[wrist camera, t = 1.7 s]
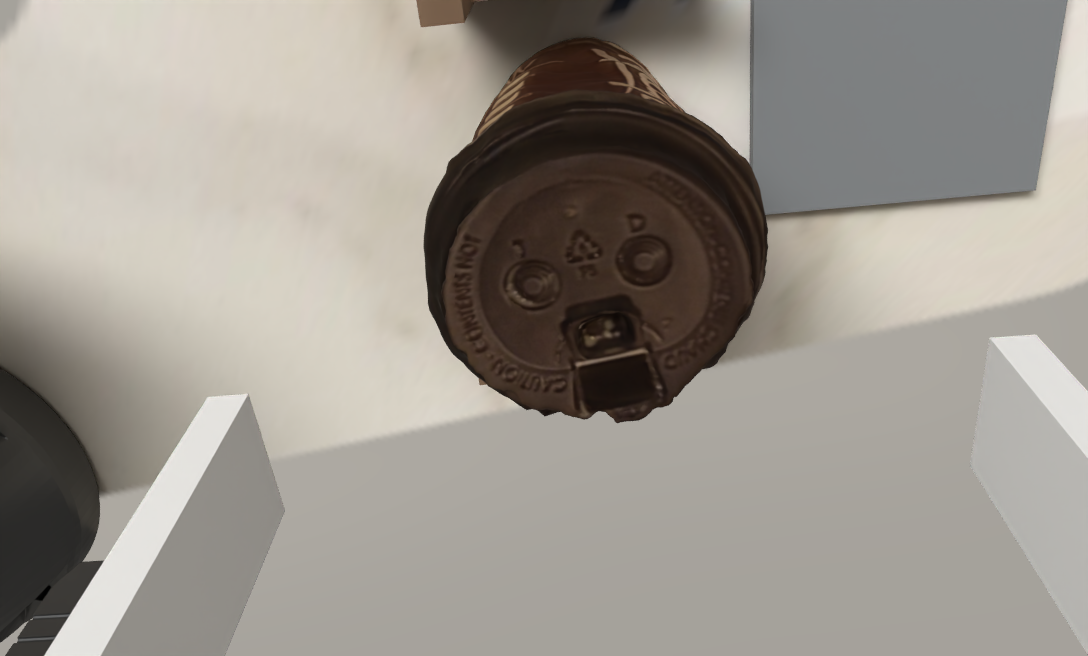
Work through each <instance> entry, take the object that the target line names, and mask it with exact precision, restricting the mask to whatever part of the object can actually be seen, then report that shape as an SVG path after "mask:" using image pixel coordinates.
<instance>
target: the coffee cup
mask: <svg viewBox="0 0 1088 656" xmlns="http://www.w3.org/2000/svg"><path fill="white" fill-rule="evenodd" d="M767 234H768V228H767V222H766V216H765V211H764V207H763V202H762V197H761V192H760V188H759V185H758V182H757V180H756V177H755V175H754V172H753V170H752V168H751V166H750V164H749V163H748V161H747V160H746V159H745V158H744V157H742V156H741V155H739V154H738V152H737V151H736V150H735V149H733V148H732V147H731V146H730V145H729V144H728V143H727V142H726V141H725V139H724V138H723V137H722V136H721V135H720V134H718V133H717V132H716V131H714V130H713V129H712V128H711V127H709V126H708V125H706V124H705V123H703V122H702V121H700V120H698V119H697V118H695V117H694V116H692V115H689V114H687V113H685V112H684V110H683V109H681V108H680V107H679V106H678V105H677V104H676V103H675V102H673V101H672V100H671V99H670V98H669V97H668V95H667V93H666V92H665V90H664V89H663V88H662V87H661V86H660V84H659V83H658V81H657V80H656V79H655V78H654V77H653V76H652V75H651V73H650V72H649V70H648V69H647V67H646V66H644V65H643V64H642V63H641V62H640V61H639V60H638V59H636V58H635V57H634V56H633V55H632V54H630V53H628V52H627V51H625V50H624V49H622V48H621V47H620V46H618V45H616V44H614V43H611V42H608V41H601V40H599V39H597V38H594V37H593V38H576V39H570V40H566V41H563V42H560V43H557V44H554V45H552V46H549V47H547V48H545V49H543V50H541V51H539V52H537V53H536V54H534V55H533V56H532V57H530V58H529V59H528V60H526V61H525V62H524V63H523V64H522V65H520V66H519V67H518V68H517V69H516V71H515V72H514V73H513V74H512V75H511V77H510V78H509V80H508V82H507V83H506V84H505V85H504V87H503V88H502V90H501V91H500V93H499V94H498V95H497V96H496V98H495V99H494V100H493V102H492V103H491V105H490V107H489V108H488V110H487V111H486V113H485V115H484V117H483V119H482V121H481V122H480V124H479V126H478V128H477V130H476V132H475V135H474V138H473V141H472V142H471V143H469V144H468V145H467V146H466V147H465V148H464V149H463V150H462V151H461V152H460V153H459V154H458V155H456V156H455V157H454V158H452V159H451V160H450V161H449V163H448V166H447V171H446V174H445V175H444V177H443V179H442V181H441V182H440V184H439V186H438V187H437V189H436V191H435V194H434V196H433V198H432V200H431V203H430V205H429V208H428V211H427V216H426V224H425V233H424V253H425V269H426V281H427V289H428V306H429V310H430V312H431V314H432V316H433V318H434V319H435V321H436V323H437V326H438V328H439V330H440V333H441V335H442V337H443V339H444V341H445V343H446V345H447V346H448V348H449V349H450V351H451V352H452V353H453V355H455V356H456V357H457V358H458V359H459V360H460V361H462V362H463V363H464V364H465V366H466V367H467V368H468V369H469V370H470V371H471V372H472V373H473V374H475V375H476V376H477V377H478V378H480V379H481V380H482V381H484V382H485V383H486V384H487V385H488V386H489V387H491V388H493V389H494V390H496V391H497V392H499V393H500V394H502V395H503V396H506V397H508V398H510V399H511V400H513V401H514V402H515V403H517V404H518V405H520V406H521V407H523V408H524V409H526V410H529V409H535V410H538V411H539V412H540V413H541V414H543V415H544V416H548V415H550V414H553V413H556V412H562V413H563V414H565V415H569V416H572V417H577V418H581V419H588V418H590V417H591V416H592V415H593V414H594V413H596V412H598V411H602V412H606V413H607V414H608V415H609V416H610V417H612V418H613V419H614V420H615V422H616V423H620V422H624V421H636V420H640V419H642V418H644V417H646V416H647V415H648V414H649V413H650V412H651V411H652V410H653V409H655V408H657V407H664V406H667V405H669V404H671V403H672V402H673V398H674V397H677V396H678V394H679V393H680V392H681V391H682V389H683V388H684V387H685V386H686V385H687V384H688V383H689V382H691V380H692V379H693V378H694V377H695V376H696V375H697V374H698V373H699V372H700V371H701V370H702V369H706V368H710V367H712V366H714V365H715V364H717V362H718V360H719V358H720V357H721V356H722V355H723V354H724V353H725V352H726V348H727V346H728V343H729V342H730V341H731V340H732V339H733V338H734V337H735V334H736V332H737V331H738V329H739V328H740V326H741V325H742V323H743V322H744V321H745V320H747V319H748V317H749V316H750V313H751V310H752V307H753V305H754V301H755V298H756V296H757V294H758V292H759V290H760V288H761V286H762V283H763V280H764V277H765V266H766V262H767V259H766V257H767V250H768V244H767Z"/></svg>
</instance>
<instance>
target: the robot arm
mask: <svg viewBox="0 0 1088 656" xmlns="http://www.w3.org/2000/svg"><path fill="white" fill-rule="evenodd" d="M970 466H971V468H972V470H973V471H974V473H975V475H976V476H977V478H978V479H979V481H980V483H981V484H982V486H983V487H984V489H985V491H986V492H987V494H988V496H989V497H990V499H991V500H992V502H993V504H994V505H995V507H996V508H997V510H998V512H999V513H1000V515H1001V516H1002V518H1003V520H1004V521H1005V523H1006V524H1007V526H1008V528H1009V529H1010V531H1011V532H1012V534H1013V536H1014V537H1015V539H1016V541H1017V542H1018V544H1019V545H1020V547H1021V549H1022V550H1023V552H1024V553H1025V555H1026V557H1027V558H1028V560H1029V561H1030V563H1031V565H1032V566H1033V568H1034V569H1035V571H1036V573H1037V574H1038V576H1039V577H1040V579H1041V581H1042V582H1043V584H1044V585H1045V587H1046V589H1047V590H1048V592H1049V594H1050V595H1051V597H1052V598H1053V600H1054V602H1055V603H1056V605H1057V606H1058V608H1059V610H1060V611H1061V613H1062V614H1063V616H1064V618H1065V619H1066V621H1067V623H1068V624H1069V626H1070V627H1071V629H1072V631H1073V632H1074V634H1075V635H1076V637H1077V639H1078V640H1079V642H1080V643H1081V645H1082V647H1083V648H1084V650H1085V651H1086V653H1087V655H1088V391H1087V390H1086V389H1085V388H1084V387H1083V386H1082V385H1081V384H1080V383H1079V381H1078V380H1077V379H1076V378H1075V377H1074V376H1073V375H1072V374H1071V373H1070V372H1069V371H1068V369H1067V368H1066V367H1065V366H1064V365H1063V364H1062V363H1061V362H1060V361H1059V359H1058V358H1057V357H1056V356H1055V355H1054V354H1053V353H1052V352H1051V351H1050V350H1049V348H1048V347H1047V346H1046V345H1045V344H1044V343H1043V342H1042V341H1041V340H1040V339H1039V338H1038V336H1037V335H1036V334H1035V335H1023V336H1022V335H1021V336H1008V337H995V338H990V339H989V345H988V352H987V359H986V365H985V372H984V378H983V385H982V391H981V398H980V404H979V410H978V418H977V423H976V430H975V436H974V443H973V450H972V457H971V462H970ZM284 512H285V510H284V507H283V503H282V500H281V497H280V493H279V490H278V487H277V484H276V481H275V477H274V474H273V471H272V468H271V465H270V461H269V458H268V455H267V452H266V449H265V445H264V442H263V439H262V436H261V433H260V429H259V426H258V423H257V420H256V417H255V413H254V410H253V407H252V404H251V401H250V397H249V394H240V395H226V396H213V397H207V399H206V400H205V402H204V404H203V405H202V407H201V408H200V410H199V412H198V413H197V415H196V416H195V418H194V419H193V421H192V423H191V424H190V426H189V427H188V429H187V431H186V432H185V434H184V435H183V437H182V438H181V440H180V442H179V443H178V445H177V446H176V448H175V450H174V451H173V453H172V454H171V456H170V457H169V459H168V461H167V462H166V464H165V465H164V467H163V469H162V470H161V472H160V473H159V475H158V476H157V478H156V480H155V481H154V483H153V484H152V486H151V488H150V489H149V491H148V492H147V494H146V495H145V497H144V499H143V500H142V502H141V504H140V505H139V506H138V508H137V510H136V511H135V513H134V514H133V516H132V518H131V519H130V521H129V522H128V524H127V525H126V527H125V529H124V530H123V532H122V533H121V535H120V537H119V538H118V540H117V541H116V543H115V544H114V546H113V548H112V549H111V551H110V552H109V554H108V556H107V557H106V559H105V560H104V561H91V562H82V561H83V560H84V558H85V557H86V555H87V554H88V552H89V550H90V548H91V546H92V544H93V542H94V540H95V537H96V533H97V530H98V524H99V517H100V502H99V493H98V488H97V484H96V480H95V477H94V474H93V471H92V469H91V466H90V464H89V462H88V459H87V457H86V455H85V453H84V452H83V450H82V448H81V446H80V445H79V443H78V441H77V440H76V439H75V437H74V436H73V434H72V433H71V431H70V430H69V429H68V427H67V426H66V425H65V424H64V422H63V421H62V420H61V419H60V418H59V417H58V416H57V414H56V413H55V412H54V411H53V410H52V409H51V408H50V407H49V406H48V405H47V404H46V403H45V402H44V401H43V400H42V399H40V398H39V397H38V396H37V395H36V394H35V393H34V392H32V391H31V390H30V389H29V388H27V387H26V386H25V385H24V384H22V383H21V382H19V381H18V380H17V379H15V378H14V377H12V376H11V375H9V374H8V373H6V372H5V371H3V370H2V369H0V642H2V641H3V640H4V639H6V638H7V637H8V636H9V635H11V634H12V633H13V632H14V631H15V630H17V629H18V628H19V627H20V626H21V625H22V624H23V623H25V622H27V621H28V620H29V622H28V623H27V624H26V626H25V628H24V629H23V630H22V632H21V633H20V635H19V636H18V642H17V643H14V644H13V645H12V646H11V648H10V649H9V651H8V652H7V654H6V655H5V656H225V654H226V651H227V649H228V646H229V644H230V642H231V639H232V637H233V635H234V632H235V630H236V627H237V625H238V623H239V620H240V618H241V615H242V613H243V610H244V608H245V606H246V603H247V601H248V598H249V596H250V594H251V591H252V589H253V586H254V584H255V582H256V579H257V577H258V574H259V572H260V569H261V567H262V564H263V562H264V560H265V557H266V555H267V553H268V550H269V548H270V545H271V543H272V540H273V538H274V536H275V533H276V531H277V528H278V526H279V524H280V521H281V519H282V517H283V514H284ZM32 618H33V620H30V619H32Z"/></svg>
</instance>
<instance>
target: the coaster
mask: <svg viewBox="0 0 1088 656" xmlns="http://www.w3.org/2000/svg"><path fill="white" fill-rule="evenodd" d="M1066 5H1067V0H751V35H750V166H751V168H752V170H753V172H754V175H755V177H756V180H757V182H758V185H759V188H760V192H761V197H762V202H763V207H764V211H765V215H768V214H779V213H790V212H801V211H812V210H823V209H834V208H845V207H856V206H867V205H878V204H889V203H900V202H911V201H922V200H933V199H944V198H956V197H967V196H978V195H989V194H1000V193H1011V192H1022V191H1033V190H1036V185H1037V179H1038V173H1039V167H1040V161H1041V155H1042V149H1043V143H1044V137H1045V131H1046V125H1047V119H1048V113H1049V107H1050V101H1051V95H1052V89H1053V83H1054V77H1055V71H1056V65H1057V59H1058V53H1059V47H1060V41H1061V35H1062V29H1063V23H1064V17H1065V11H1066Z"/></svg>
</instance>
